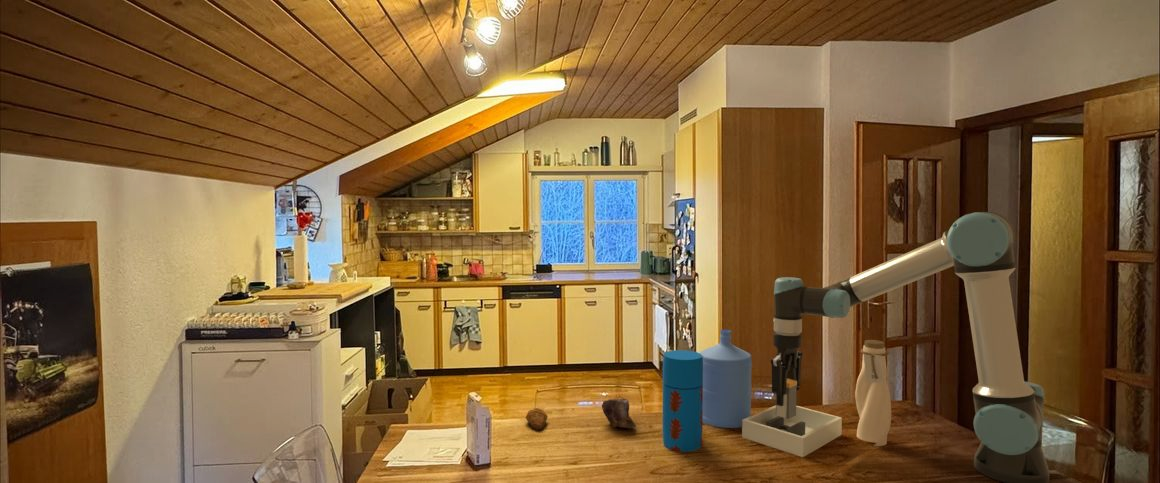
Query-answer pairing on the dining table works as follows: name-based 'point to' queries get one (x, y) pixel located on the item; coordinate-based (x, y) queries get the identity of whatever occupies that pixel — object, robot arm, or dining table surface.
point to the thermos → (682, 400)
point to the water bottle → (873, 395)
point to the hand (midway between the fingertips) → (785, 414)
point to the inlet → (779, 424)
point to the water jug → (726, 384)
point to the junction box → (816, 433)
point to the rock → (618, 413)
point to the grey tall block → (790, 397)
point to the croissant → (537, 418)
